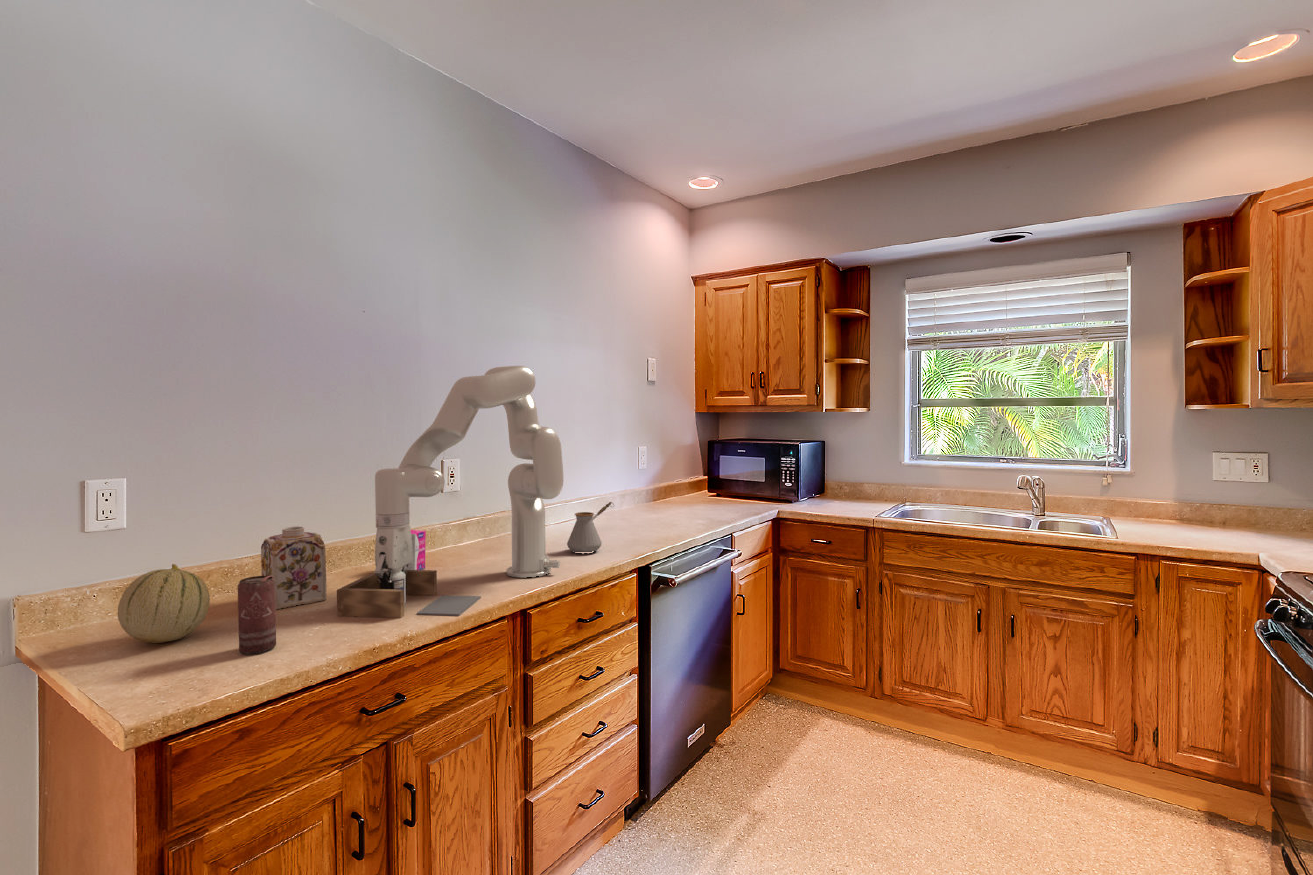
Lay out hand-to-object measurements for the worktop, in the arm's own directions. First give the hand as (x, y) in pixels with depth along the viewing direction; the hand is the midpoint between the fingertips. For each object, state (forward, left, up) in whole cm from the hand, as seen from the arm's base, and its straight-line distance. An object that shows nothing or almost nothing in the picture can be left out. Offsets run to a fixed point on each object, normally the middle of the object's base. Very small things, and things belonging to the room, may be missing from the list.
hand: (393, 594), depth 151 cm
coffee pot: (-37, -65, -3) cm, 75 cm away
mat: (-14, 0, -2) cm, 14 cm away
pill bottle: (0, 0, -3) cm, 3 cm away
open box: (+1, 0, -2) cm, 3 cm away
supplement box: (+11, -32, -3) cm, 34 cm away
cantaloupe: (+34, +27, -3) cm, 44 cm away
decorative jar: (+26, -1, -3) cm, 26 cm away
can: (+12, +30, -3) cm, 32 cm away
